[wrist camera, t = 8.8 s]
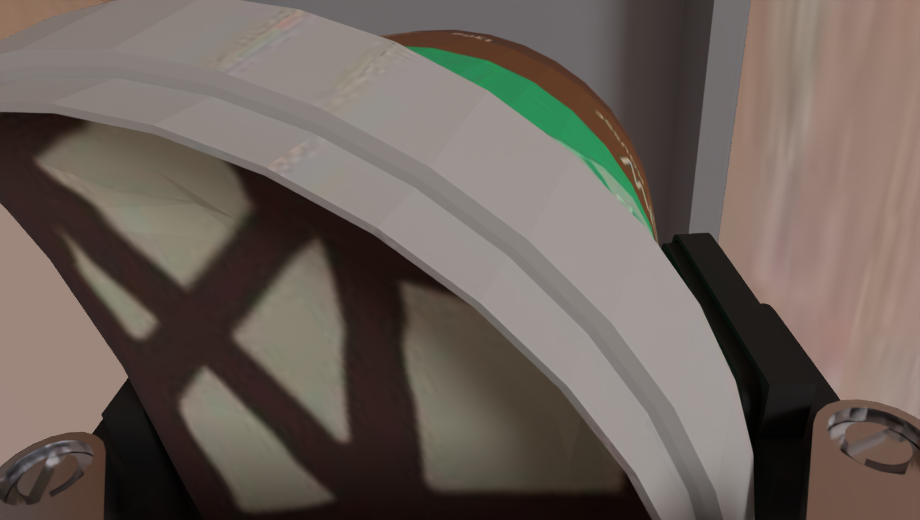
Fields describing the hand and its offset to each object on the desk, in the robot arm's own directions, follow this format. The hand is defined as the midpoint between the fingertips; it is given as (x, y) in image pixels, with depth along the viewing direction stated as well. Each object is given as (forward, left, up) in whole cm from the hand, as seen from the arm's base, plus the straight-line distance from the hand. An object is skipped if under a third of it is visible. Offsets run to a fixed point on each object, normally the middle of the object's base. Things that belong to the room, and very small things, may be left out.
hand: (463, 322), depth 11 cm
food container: (-2, -1, -4) cm, 5 cm away
